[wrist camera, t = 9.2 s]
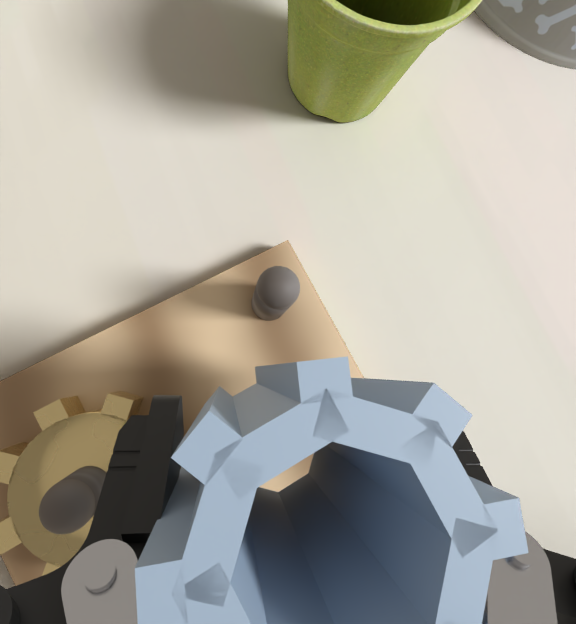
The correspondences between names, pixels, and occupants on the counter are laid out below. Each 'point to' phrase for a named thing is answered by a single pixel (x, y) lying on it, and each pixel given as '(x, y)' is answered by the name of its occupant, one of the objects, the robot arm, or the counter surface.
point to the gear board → (171, 370)
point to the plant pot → (360, 48)
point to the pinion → (326, 508)
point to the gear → (57, 470)
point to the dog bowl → (535, 27)
